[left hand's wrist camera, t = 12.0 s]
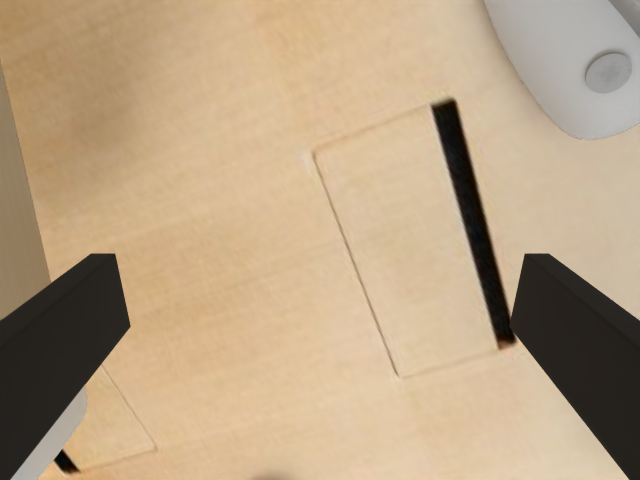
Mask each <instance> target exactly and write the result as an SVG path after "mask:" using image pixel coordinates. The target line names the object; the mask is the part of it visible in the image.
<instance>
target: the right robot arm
mask: <svg viewBox="0 0 640 480" xmlns="http://www.w3.org/2000/svg"><path fill="white" fill-rule="evenodd" d="M87 404H88V400H87V391H86V386H85V385H84V387H83V388H82V389H81V390H80V392H79V393H78V394H77V396H76V397H75V398H74V399H73V401H72V402H71V403H70V404H69V406H68V407H67V408H66V410H65V411H64V412H63V413H62V415H61V416H60V417H59V419H58V420H57V421H56V422H55V424H54V425H53V426H52V427H51V429H50V430H49V431H48V433H47V434H46V435H45V436H44V438H43V439H42V440H41V442H40V443H39V444H38V445H37V447H36V448H35V449H34V450H33V452H32V453H31V454H30V456H29V457H28V458H27V459H26V461H25V462H24V463H23V464H22V466H21V467H20V468H19V470H18V471H17V472H16V473H15V475H14V476H13V477H12V479H11V480H37V479H38V478H39V477H40V476H41V475H42V473H43V472H44V471H45V470H46V469H47V467H48V466H49V465H50V463H51V462H52V461H53V460H54V458H55V457H56V456H57V455H58V453H59V452H60V451H61V449H62V448H63V447H64V445H65V444H66V443H67V441H68V440H69V439H70V437H71V436H72V434H73V433H74V432H75V430H76V429H77V427H78V426H79V424H80V423H81V421H82V420H83V418H84V416H85V414H86V411H87Z"/></svg>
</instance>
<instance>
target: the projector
mask: <svg viewBox="0 0 640 480" xmlns="http://www.w3.org/2000/svg"><path fill="white" fill-rule="evenodd" d="M484 3H485V6H486V9H487V12H488V14H489V17H490V19H491V22H492V24H493V27H494V29H495V31H496V34H497V36H498V38H499V40H500V42H501V44H502V46H503V48H504V50H505V52H506V54H507V56H508V58H509V60H510V62H511V63H512V65H513V67H514V69H515V70H516V72H517V74H518V76H519V77H520V79H521V80H522V82H523V84H524V85H525V87H526V88H527V90H528V91H529V93H530V94H531V96H532V97H533V98H534V100H535V101H536V103H537V104H538V105H539V106H540V108H541V109H542V110H543V112H544V113H545V114H546V115H547V116H548V117H549V119H550V120H551V121H552V122H553V123H554V124H555V125H556V126H557V127H559V128H560V129H561V130H562V131H564V132H565V133H567V134H568V135H570V136H572V137H574V138H577V139H581V140H597V139H603V138H607V137H611V136H614V135H617V134H619V133H621V132H624V131H626V130H628V129H630V128H632V127H634V126H636V125H638V124H639V123H640V0H484Z"/></svg>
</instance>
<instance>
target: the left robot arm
mask: <svg viewBox="0 0 640 480" xmlns="http://www.w3.org/2000/svg"><path fill="white" fill-rule="evenodd" d="M130 327H131V326H130V321H129V317H128V312H127V307H126V303H125V298H124V293H123V288H122V284H121V279H120V274H119V270H118V265H117V260H116V255H115V254H90V255H89V256H87V257H86V258H85V259H83V260H82V261H81V262H79V263H78V264H76V265H75V266H74V267H72V268H71V269H70V270H68V271H67V272H66V273H64V274H63V275H62V276H60V277H59V278H57V279H56V280H55V281H53V282H52V283H51V284H49V285H48V286H47V287H45V288H44V289H43V290H41V291H40V292H39V293H37V294H36V295H34V296H33V297H32V298H30V299H29V300H28V301H26V302H25V303H24V304H22V305H21V306H20V307H18V308H17V309H15V310H14V311H13V312H11V313H10V314H9V315H7V316H6V317H5V318H3V319H2V320H1V321H0V480H11V479H12V477H13V476H14V475H15V473H16V472H17V471H18V470H19V468H20V467H21V466H22V464H23V463H24V462H25V461H26V459H27V458H28V457H29V456H30V454H31V453H32V452H33V450H34V449H35V448H36V447H37V445H38V444H39V443H40V442H41V440H42V439H43V438H44V436H45V435H46V434H47V433H48V431H49V430H50V429H51V427H52V426H53V425H54V424H55V422H56V421H57V420H58V419H59V417H60V416H61V415H62V413H63V412H64V411H65V410H66V408H67V407H68V406H69V404H70V403H71V402H72V401H73V399H74V398H75V397H76V396H77V394H78V393H79V392H80V390H81V389H82V388H83V387H84V385H85V384H86V383H87V382H88V380H89V379H90V378H91V376H92V375H93V374H94V373H95V371H96V370H97V369H98V367H99V366H100V365H101V364H102V362H103V361H104V360H105V359H106V357H107V356H108V355H109V353H110V352H111V351H112V350H113V348H114V347H115V346H116V345H117V343H118V342H119V341H120V339H121V338H122V337H123V336H124V334H125V333H126V332H127V330H128V329H129V328H130ZM509 327H510V328H511V329H512V330H513V332H514V333H515V334H516V336H517V337H518V338H519V339H520V341H521V342H522V343H523V345H524V346H525V347H526V348H527V350H528V351H529V352H530V353H531V355H532V356H533V357H534V359H535V360H536V361H537V362H538V364H539V365H540V366H541V367H542V369H543V370H544V371H545V373H546V374H547V375H548V376H549V378H550V379H551V380H552V382H553V383H554V384H555V385H556V387H557V388H558V389H559V390H560V392H561V393H562V394H563V396H564V397H565V398H566V399H567V401H568V402H569V403H570V404H571V406H572V407H573V408H574V410H575V411H576V412H577V413H578V415H579V416H580V417H581V419H582V420H583V421H584V422H585V424H586V425H587V426H588V427H589V429H590V430H591V431H592V433H593V434H594V435H595V436H596V438H597V439H598V440H599V442H600V443H601V444H602V445H603V447H604V448H605V449H606V450H607V452H608V453H609V454H610V456H611V457H612V458H613V459H614V461H615V462H616V463H617V464H618V466H619V467H620V468H621V470H622V471H623V472H624V473H625V475H626V476H627V477H628V479H629V480H640V321H639V320H638V319H637V318H635V317H634V316H633V315H631V314H630V313H629V312H627V311H626V310H625V309H623V308H622V307H620V306H619V305H618V304H616V303H615V302H614V301H612V300H611V299H610V298H608V297H607V296H606V295H604V294H603V293H601V292H600V291H599V290H597V289H596V288H595V287H593V286H592V285H591V284H589V283H588V282H587V281H585V280H584V279H583V278H581V277H580V276H578V275H577V274H576V273H574V272H573V271H572V270H570V269H569V268H568V267H566V266H565V265H564V264H562V263H561V262H559V261H558V260H557V259H555V258H554V257H553V256H551V255H550V254H525V255H524V260H523V265H522V270H521V274H520V279H519V284H518V288H517V293H516V298H515V303H514V307H513V312H512V317H511V321H510V326H509Z"/></svg>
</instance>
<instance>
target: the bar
mask: <svg viewBox="0 0 640 480" xmlns="http://www.w3.org/2000/svg"><path fill="white" fill-rule="evenodd" d="M49 284H51V280H50V276H49V271H48V267H47V263H46V258H45V254H44V250H43V245H42V241H41V236H40V232H39V228H38V223H37V219H36V214H35V210H34V206H33V201H32V197H31V192H30V188H29V184H28V179H27V175H26V170H25V166H24V162H23V157H22V153H21V148H20V144H19V140H18V135H17V131H16V126H15V122H14V118H13V113H12V109H11V104H10V100H9V96H8V91H7V87H6V83H5V78H4V74H3V69H2V65H1V61H0V321H1V320H2V319H3V318H5V317H6V316H7V315H9V314H10V313H11V312H13V311H14V310H15V309H17V308H18V307H20V306H21V305H22V304H24V303H25V302H26V301H28V300H29V299H30V298H32V297H33V296H34V295H36V294H37V293H39V292H40V291H41V290H43V289H44V288H45V287H47V286H48V285H49Z"/></svg>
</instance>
